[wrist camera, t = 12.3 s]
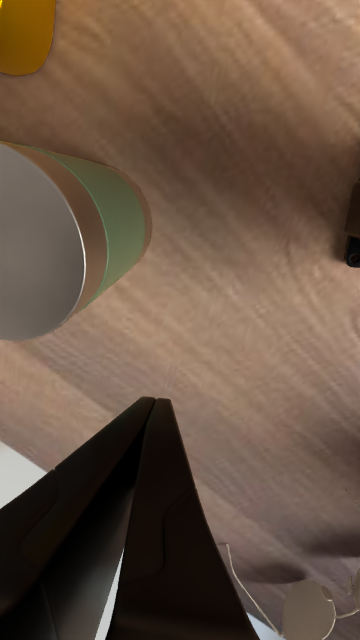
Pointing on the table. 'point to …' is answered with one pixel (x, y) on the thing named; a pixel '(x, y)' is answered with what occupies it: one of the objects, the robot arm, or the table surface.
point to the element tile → (25, 34)
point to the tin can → (62, 236)
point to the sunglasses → (309, 608)
